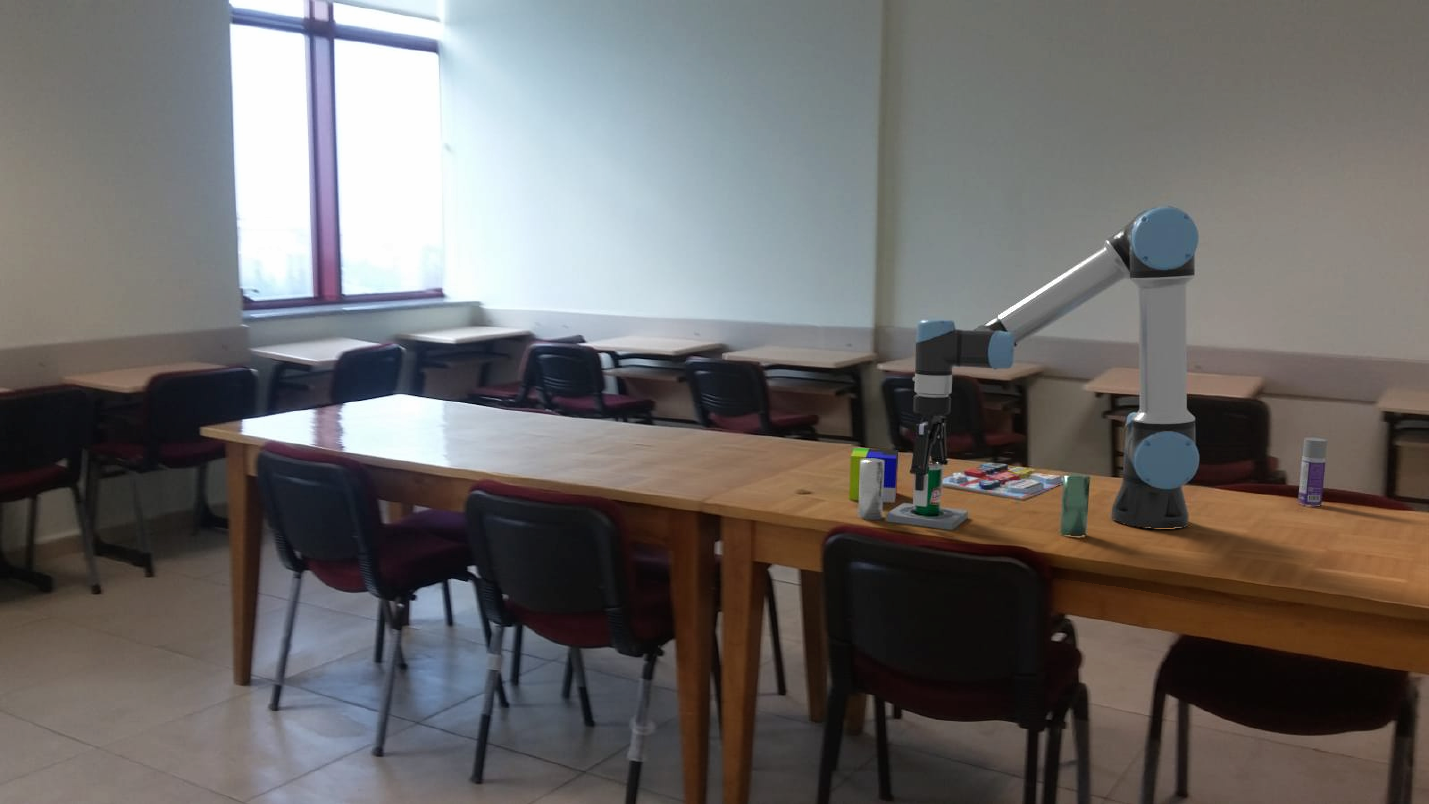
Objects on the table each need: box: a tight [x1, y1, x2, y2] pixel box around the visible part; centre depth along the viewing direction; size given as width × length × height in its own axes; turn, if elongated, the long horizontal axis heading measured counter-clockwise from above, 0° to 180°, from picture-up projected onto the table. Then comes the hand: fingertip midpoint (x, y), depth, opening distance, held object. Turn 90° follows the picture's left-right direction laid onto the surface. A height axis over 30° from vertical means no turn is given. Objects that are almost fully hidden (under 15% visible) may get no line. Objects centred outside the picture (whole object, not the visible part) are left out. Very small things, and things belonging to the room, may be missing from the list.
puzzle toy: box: [848, 447, 899, 504], centre depth 258 cm, size 10×10×10 cm
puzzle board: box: [942, 462, 1063, 501], centre depth 276 cm, size 30×23×3 cm
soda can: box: [915, 460, 942, 517], centre depth 237 cm, size 5×5×12 cm
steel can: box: [857, 458, 884, 521], centre depth 238 cm, size 5×5×12 cm
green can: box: [1059, 472, 1091, 536], centre depth 227 cm, size 5×5×12 cm
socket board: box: [884, 502, 969, 531], centre depth 238 cm, size 14×12×2 cm
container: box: [1297, 437, 1328, 506], centre depth 257 cm, size 5×5×15 cm
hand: (927, 500), depth 237 cm, fingers open, 10 cm apart
